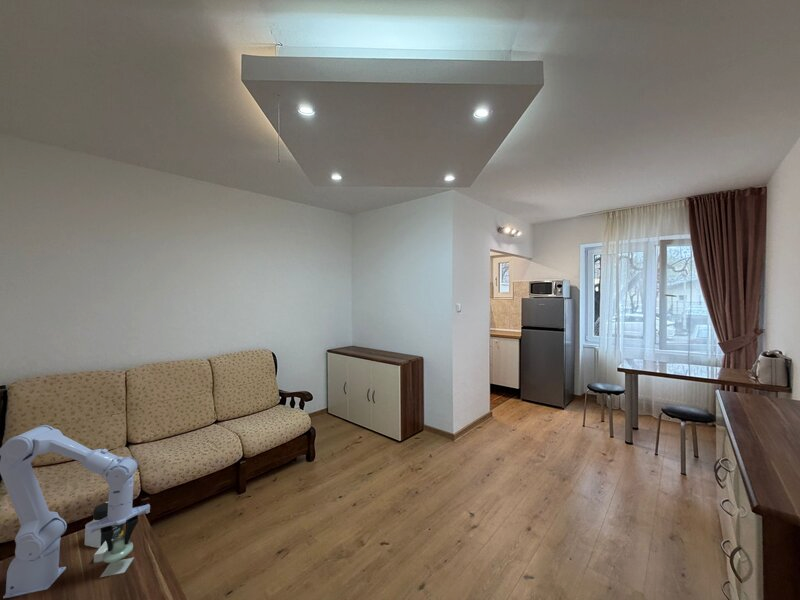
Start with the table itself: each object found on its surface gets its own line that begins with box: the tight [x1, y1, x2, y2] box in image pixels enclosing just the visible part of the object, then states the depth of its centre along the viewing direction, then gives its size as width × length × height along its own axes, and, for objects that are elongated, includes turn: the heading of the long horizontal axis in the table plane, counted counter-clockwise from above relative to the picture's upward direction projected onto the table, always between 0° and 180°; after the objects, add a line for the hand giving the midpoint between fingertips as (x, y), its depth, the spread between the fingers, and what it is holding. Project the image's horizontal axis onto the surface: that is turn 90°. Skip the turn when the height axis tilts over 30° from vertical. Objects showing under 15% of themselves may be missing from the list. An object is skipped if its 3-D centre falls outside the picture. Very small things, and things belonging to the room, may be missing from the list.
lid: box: [102, 535, 134, 564], centre depth 96 cm, size 7×7×4 cm
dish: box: [93, 539, 113, 564], centre depth 101 cm, size 6×6×3 cm
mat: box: [99, 556, 135, 578], centre depth 96 cm, size 6×6×1 cm
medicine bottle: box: [84, 501, 125, 549], centre depth 108 cm, size 7×7×12 cm
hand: (118, 546), depth 96 cm, fingers closed on lid, 3 cm apart
